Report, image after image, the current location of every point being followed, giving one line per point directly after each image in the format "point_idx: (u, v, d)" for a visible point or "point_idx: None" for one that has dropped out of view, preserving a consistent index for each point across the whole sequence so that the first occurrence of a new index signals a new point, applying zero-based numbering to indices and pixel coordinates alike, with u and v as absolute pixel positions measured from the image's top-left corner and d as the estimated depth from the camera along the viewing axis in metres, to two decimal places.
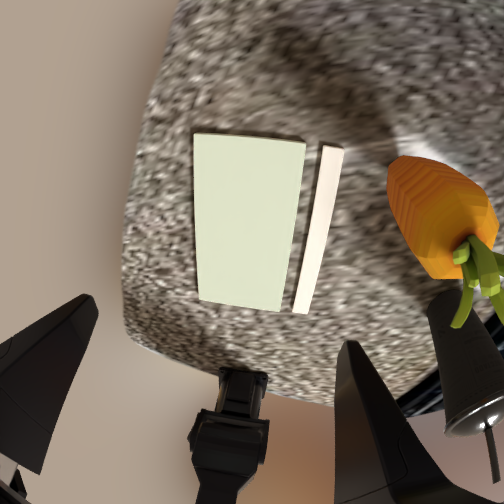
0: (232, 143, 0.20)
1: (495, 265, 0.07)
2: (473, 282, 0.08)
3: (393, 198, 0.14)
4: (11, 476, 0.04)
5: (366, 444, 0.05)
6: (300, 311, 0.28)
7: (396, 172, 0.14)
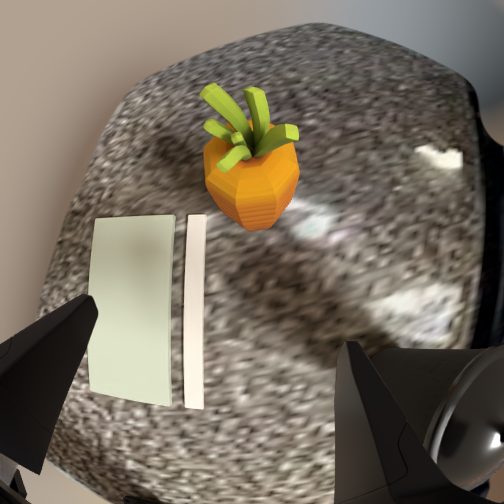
0: (120, 222, 0.24)
1: None
2: (233, 134, 0.11)
3: None
4: (10, 476, 0.04)
5: (366, 444, 0.05)
6: (193, 405, 0.21)
7: None
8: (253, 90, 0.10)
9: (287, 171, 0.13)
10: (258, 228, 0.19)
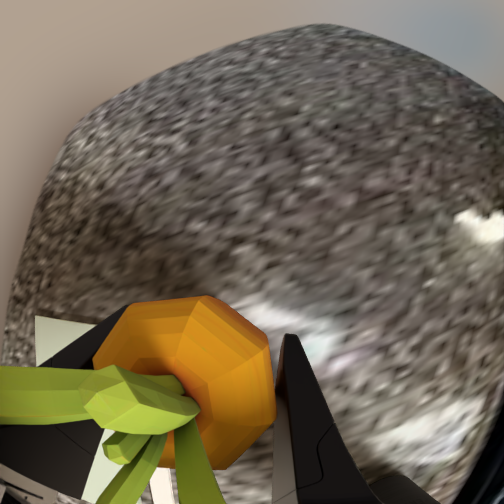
0: (60, 327, 0.16)
1: (24, 368, 0.03)
2: (106, 450, 0.03)
3: None
4: None
5: (287, 442, 0.06)
6: None
7: None
8: (101, 412, 0.02)
9: (248, 440, 0.05)
10: None
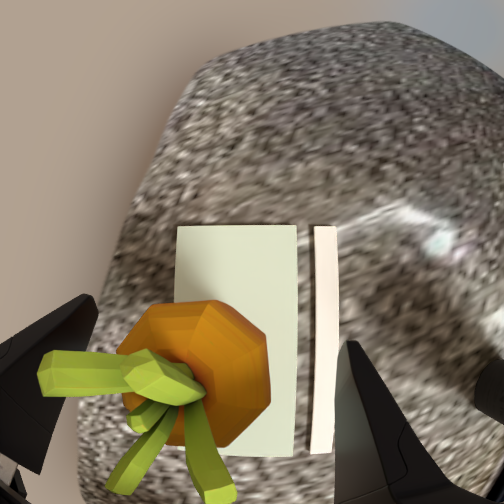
0: (218, 233, 0.19)
1: (74, 352, 0.04)
2: (129, 420, 0.05)
3: None
4: (10, 476, 0.04)
5: (366, 444, 0.05)
6: (321, 450, 0.16)
7: None
8: (136, 381, 0.04)
9: (245, 422, 0.07)
10: None
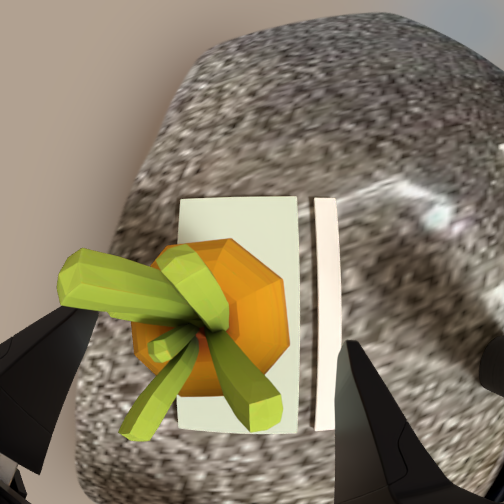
0: (220, 205, 0.19)
1: (102, 255, 0.04)
2: (152, 346, 0.05)
3: None
4: (11, 476, 0.04)
5: (366, 444, 0.05)
6: (326, 427, 0.16)
7: None
8: (176, 272, 0.04)
9: (267, 361, 0.07)
10: None
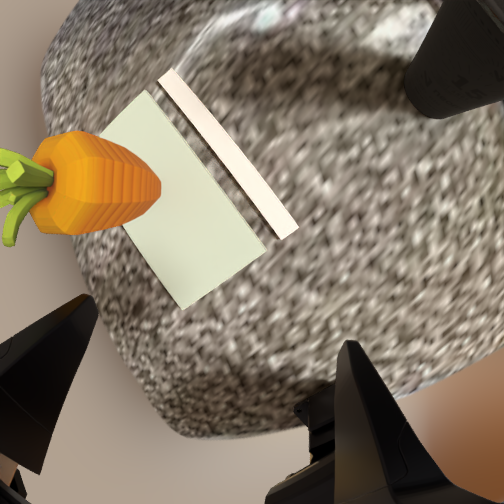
0: (104, 137, 0.20)
1: None
2: (8, 198, 0.08)
3: None
4: (10, 476, 0.04)
5: (366, 444, 0.05)
6: (288, 230, 0.20)
7: None
8: None
9: (81, 172, 0.10)
10: (142, 209, 0.16)
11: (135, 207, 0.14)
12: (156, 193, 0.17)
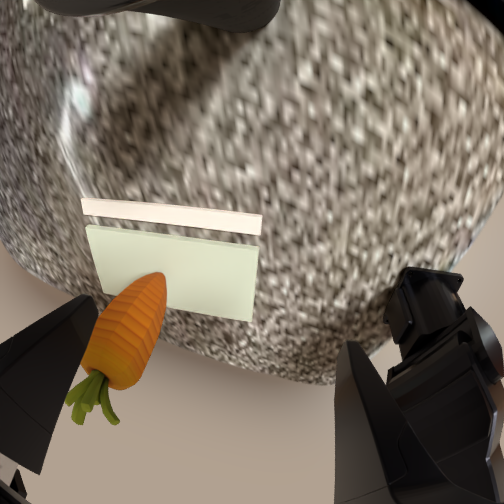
0: (101, 272, 0.26)
1: (73, 411, 0.14)
2: (95, 403, 0.14)
3: None
4: (10, 476, 0.04)
5: (366, 444, 0.05)
6: (257, 226, 0.21)
7: None
8: (67, 404, 0.13)
9: (108, 361, 0.15)
10: (161, 311, 0.21)
11: (153, 323, 0.19)
12: (158, 292, 0.21)
